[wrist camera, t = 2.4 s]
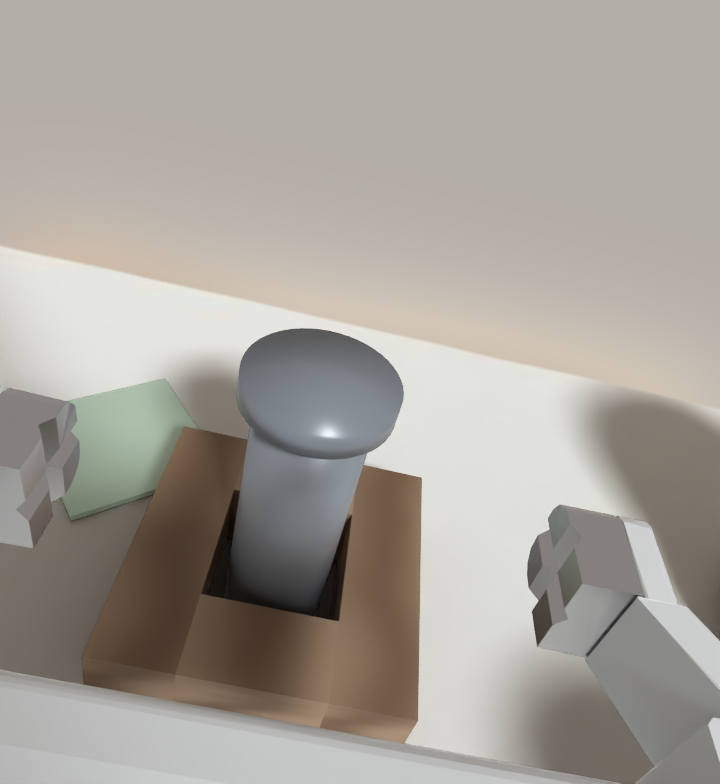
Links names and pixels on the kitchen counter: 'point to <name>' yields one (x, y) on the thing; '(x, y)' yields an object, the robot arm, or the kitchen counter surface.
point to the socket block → (263, 624)
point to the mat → (123, 445)
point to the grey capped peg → (303, 459)
